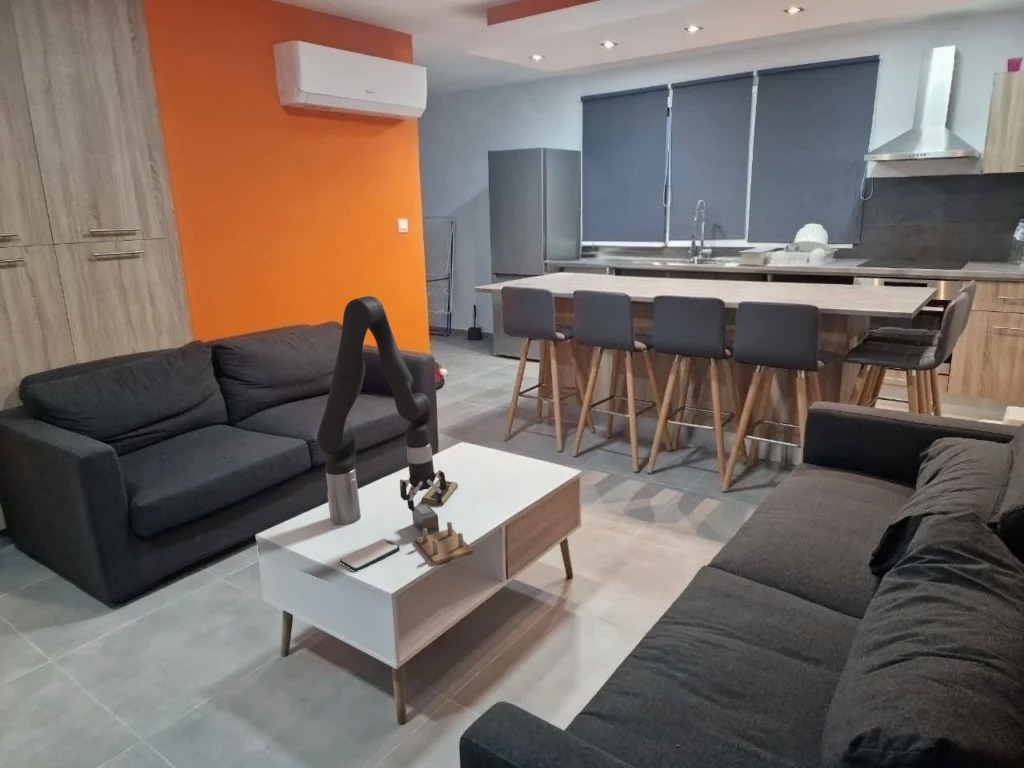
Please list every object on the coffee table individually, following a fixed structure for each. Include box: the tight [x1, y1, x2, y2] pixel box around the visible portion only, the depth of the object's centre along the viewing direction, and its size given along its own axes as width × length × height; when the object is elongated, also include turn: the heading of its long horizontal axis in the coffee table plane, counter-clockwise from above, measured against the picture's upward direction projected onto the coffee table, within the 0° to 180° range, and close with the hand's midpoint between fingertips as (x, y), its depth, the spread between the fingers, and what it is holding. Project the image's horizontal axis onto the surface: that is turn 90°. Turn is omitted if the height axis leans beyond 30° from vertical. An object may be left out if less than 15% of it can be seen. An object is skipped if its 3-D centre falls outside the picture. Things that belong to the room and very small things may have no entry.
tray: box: [414, 521, 474, 566], centre depth 196 cm, size 12×16×5 cm
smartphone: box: [339, 538, 400, 572], centre depth 194 cm, size 9×2×16 cm
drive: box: [411, 504, 440, 536], centre depth 209 cm, size 5×10×6 cm, turn 27°
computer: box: [420, 479, 459, 507], centre depth 234 cm, size 16×8×3 cm, turn 166°
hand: (425, 507), depth 208 cm, fingers open, 8 cm apart
